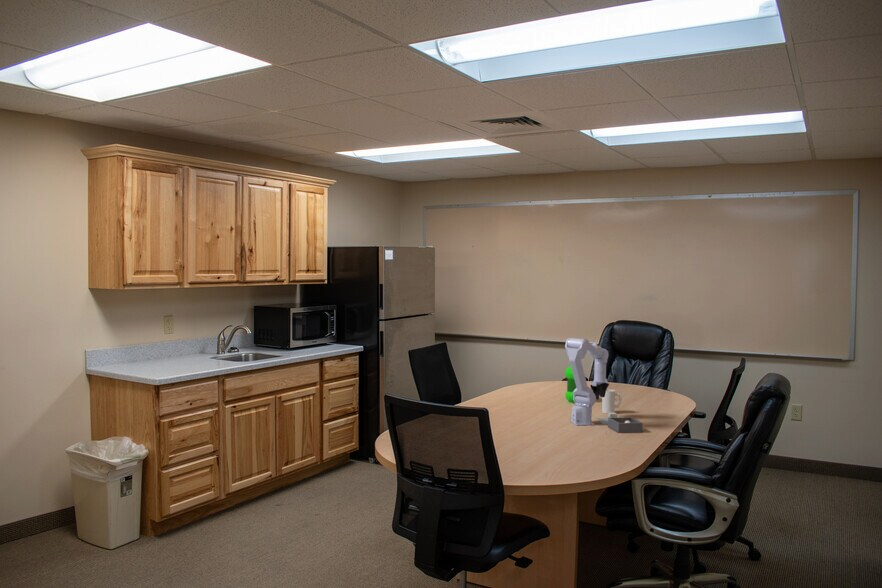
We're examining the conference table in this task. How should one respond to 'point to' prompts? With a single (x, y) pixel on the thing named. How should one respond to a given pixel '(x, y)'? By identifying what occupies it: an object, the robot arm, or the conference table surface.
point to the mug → (610, 401)
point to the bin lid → (605, 420)
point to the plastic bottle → (570, 384)
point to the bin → (625, 425)
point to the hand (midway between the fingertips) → (599, 398)
